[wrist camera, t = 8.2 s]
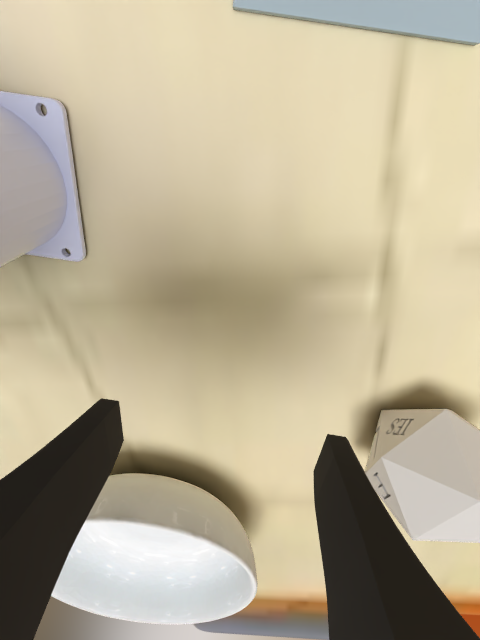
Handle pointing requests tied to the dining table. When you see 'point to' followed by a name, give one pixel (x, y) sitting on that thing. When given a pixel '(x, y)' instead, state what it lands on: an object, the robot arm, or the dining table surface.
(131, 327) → the dining table surface
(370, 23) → the mat
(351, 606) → the robot arm
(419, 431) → the die
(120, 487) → the serving bowl
